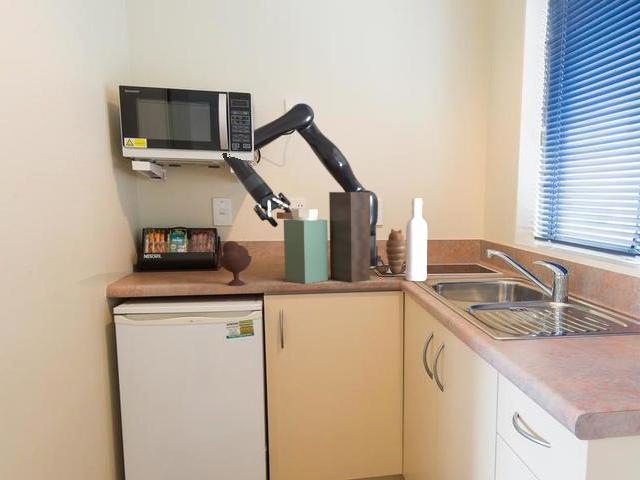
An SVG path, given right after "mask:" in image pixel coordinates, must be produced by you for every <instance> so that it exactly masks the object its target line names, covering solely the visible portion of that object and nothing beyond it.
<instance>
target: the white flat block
mask: <svg viewBox="0 0 640 480" xmlns="http://www.w3.org/2000/svg"><path fill="white" fill-rule="evenodd" d="M291 211H292V213H291V212H285V211H277V212H276V219H279V220H292V219H293V220H319V208H306V207H299V208H296V207H295V208H291Z"/></svg>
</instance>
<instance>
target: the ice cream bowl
mask: <svg viewBox="0 0 640 480" xmlns="http://www.w3.org/2000/svg"><path fill="white" fill-rule="evenodd" d="M221 249H222V250H221V251H222V256H219V257H218V261H219V264H220V266H221V267H222V268H223V269H224V270H226V271H228V272H230V273H232V274H233V279H231V280H230V281H229V282H228V286H232V287H233V286H235V287H236V286H244V285H245V284H246V283H245V281H243V280H242V279H240V273H241V272H244V271H246V270H247V268H248V267H249V266H250V265H251V263H252V255H250V253H249V250H248V249H247V248H246V247H245V246H243V245H241V244H239V243H238V242H237V241H234V240H228V241H226V242H224V243H223V244H222V248H221Z"/></svg>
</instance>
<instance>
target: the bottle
mask: <svg viewBox="0 0 640 480" xmlns="http://www.w3.org/2000/svg"><path fill="white" fill-rule="evenodd" d="M405 241H406V252H405V261H406V263H405V270H404V271H405V273H404V274H405V275H404V276H405V280H406V281H407V282H408V281H409V282H424V281H426V280H427V276H428V275H427V273H428V271H427V265H428V264H427V259H428V258H427V257H428V256H427V255H428V224H427V222H426V220H424V219H423V199H422V198H412V199H411V218H410V219H409V220H408V221H407V223H406V227H405Z"/></svg>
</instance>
